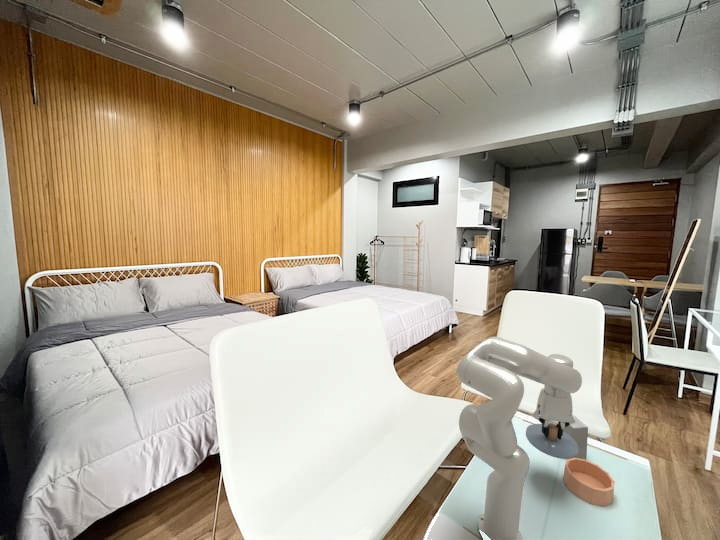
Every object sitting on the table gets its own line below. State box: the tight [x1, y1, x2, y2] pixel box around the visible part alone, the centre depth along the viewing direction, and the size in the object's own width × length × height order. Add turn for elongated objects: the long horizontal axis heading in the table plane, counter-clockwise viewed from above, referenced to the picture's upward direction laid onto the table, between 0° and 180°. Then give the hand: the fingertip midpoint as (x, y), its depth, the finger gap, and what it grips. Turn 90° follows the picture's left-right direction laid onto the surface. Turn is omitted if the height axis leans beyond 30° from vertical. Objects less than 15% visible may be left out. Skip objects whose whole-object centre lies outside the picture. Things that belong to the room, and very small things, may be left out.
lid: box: [525, 422, 578, 460], centre depth 105 cm, size 16×16×6 cm
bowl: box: [562, 458, 616, 507], centre depth 106 cm, size 14×14×6 cm
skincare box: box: [563, 414, 589, 460], centre depth 120 cm, size 8×7×16 cm
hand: (551, 435), depth 105 cm, fingers closed on lid, 3 cm apart
